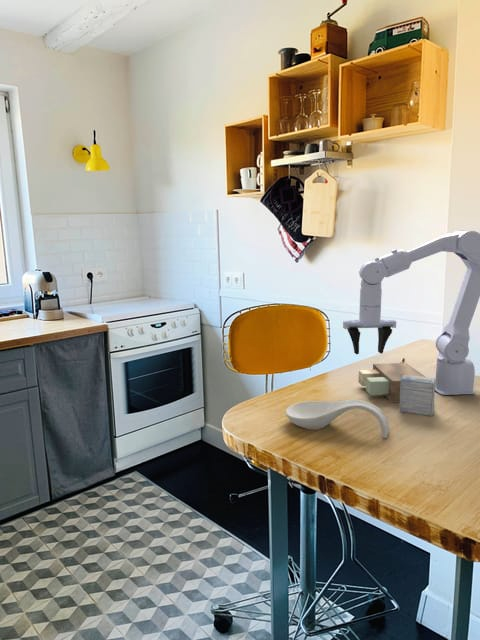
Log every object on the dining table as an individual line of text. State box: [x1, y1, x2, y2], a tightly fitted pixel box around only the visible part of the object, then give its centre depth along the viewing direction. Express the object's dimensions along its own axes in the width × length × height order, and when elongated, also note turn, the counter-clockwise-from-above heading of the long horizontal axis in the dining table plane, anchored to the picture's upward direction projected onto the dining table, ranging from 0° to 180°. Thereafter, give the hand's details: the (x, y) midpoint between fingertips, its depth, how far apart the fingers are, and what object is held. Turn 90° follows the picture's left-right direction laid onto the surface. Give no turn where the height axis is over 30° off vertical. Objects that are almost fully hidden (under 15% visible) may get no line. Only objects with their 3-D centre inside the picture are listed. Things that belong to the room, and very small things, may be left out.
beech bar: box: [358, 369, 381, 387], centre depth 141 cm, size 9×4×4 cm, turn 93°
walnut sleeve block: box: [372, 362, 426, 403], centre depth 138 cm, size 10×16×6 cm, turn 3°
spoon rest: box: [285, 399, 390, 439], centre depth 114 cm, size 24×12×7 cm, turn 68°
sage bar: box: [365, 377, 390, 396], centre depth 134 cm, size 9×4×4 cm, turn 94°
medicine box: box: [398, 375, 436, 417], centre depth 123 cm, size 8×4×9 cm, turn 65°
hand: (368, 353), depth 139 cm, fingers open, 6 cm apart
